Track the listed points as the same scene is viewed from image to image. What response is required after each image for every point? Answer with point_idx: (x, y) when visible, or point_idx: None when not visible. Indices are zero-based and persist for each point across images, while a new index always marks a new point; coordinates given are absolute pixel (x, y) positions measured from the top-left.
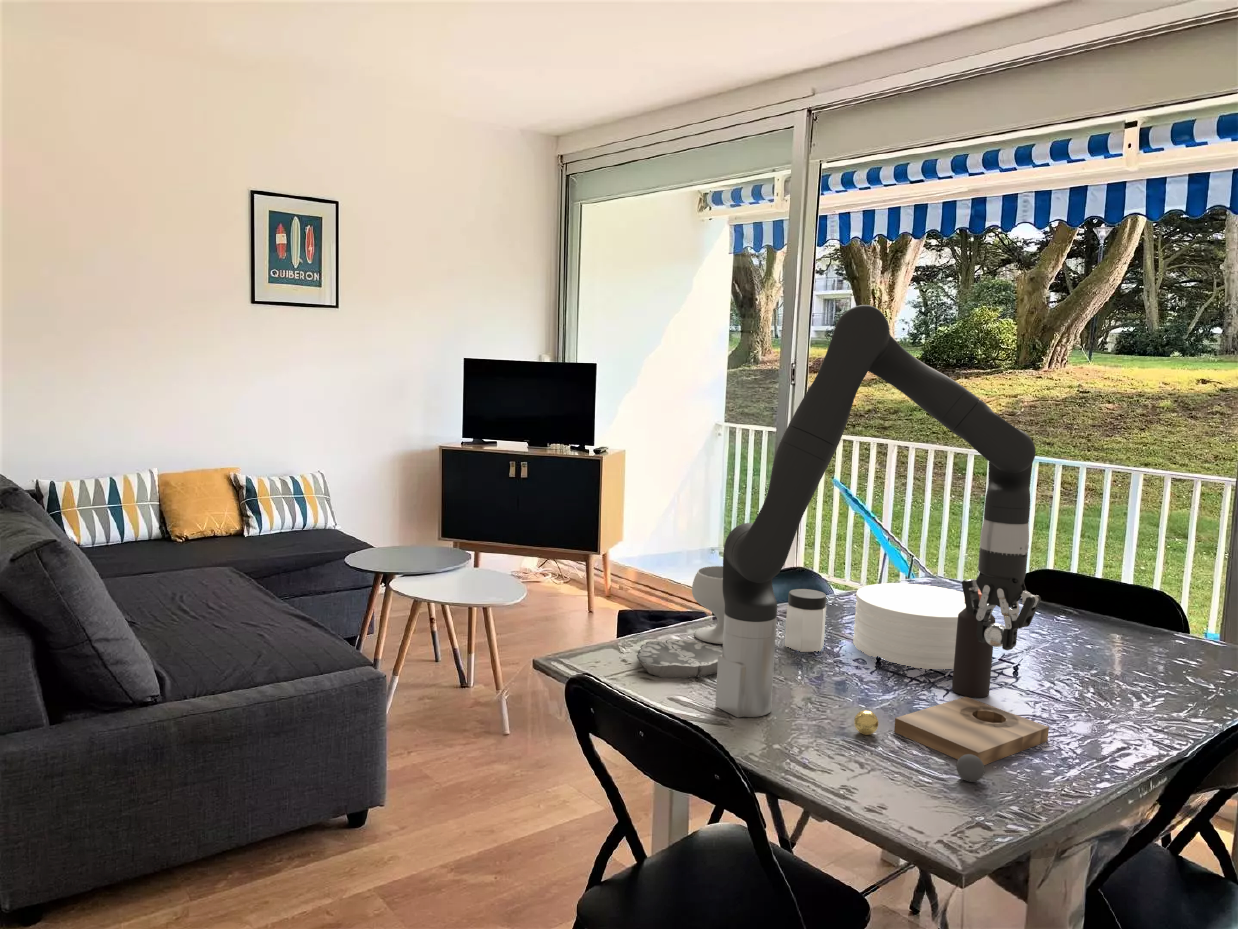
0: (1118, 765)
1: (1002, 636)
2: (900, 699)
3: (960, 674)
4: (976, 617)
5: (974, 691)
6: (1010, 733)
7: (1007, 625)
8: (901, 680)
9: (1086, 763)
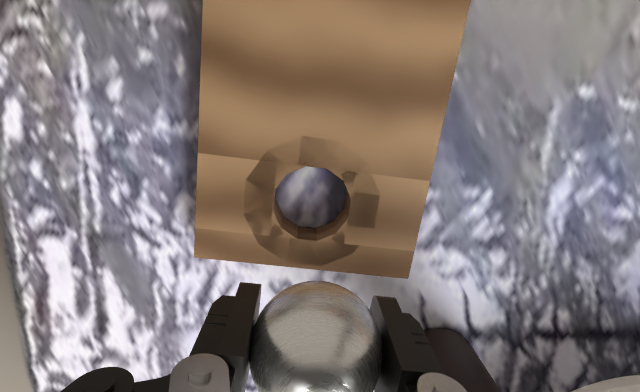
0: (56, 241)
1: (260, 325)
2: (529, 204)
3: (464, 360)
4: (462, 388)
5: None
6: (224, 144)
7: (204, 370)
8: (571, 307)
9: (96, 198)
